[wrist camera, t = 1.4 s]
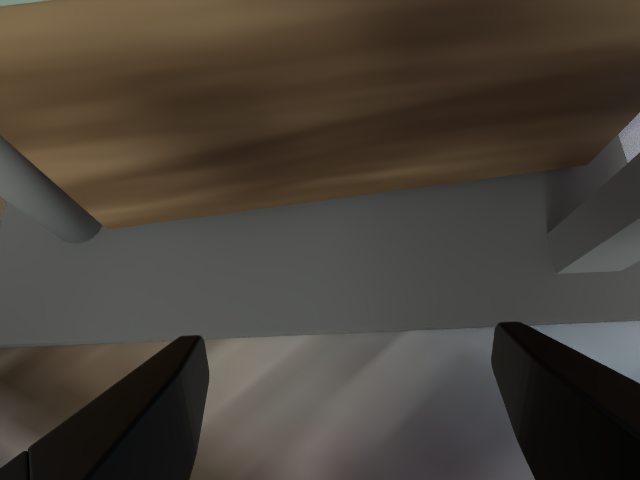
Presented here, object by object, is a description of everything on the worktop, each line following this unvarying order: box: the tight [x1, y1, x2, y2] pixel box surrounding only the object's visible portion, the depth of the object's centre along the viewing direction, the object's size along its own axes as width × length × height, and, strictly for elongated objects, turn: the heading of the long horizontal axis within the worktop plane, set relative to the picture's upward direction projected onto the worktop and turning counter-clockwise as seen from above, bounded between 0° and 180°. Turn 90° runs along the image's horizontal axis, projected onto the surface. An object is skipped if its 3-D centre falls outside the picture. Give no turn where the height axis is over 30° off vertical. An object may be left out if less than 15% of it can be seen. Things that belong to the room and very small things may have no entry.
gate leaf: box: [0, 0, 640, 229], centre depth 16 cm, size 3×24×14 cm, turn 98°
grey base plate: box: [0, 135, 640, 348], centre depth 18 cm, size 20×32×16 cm, turn 92°
